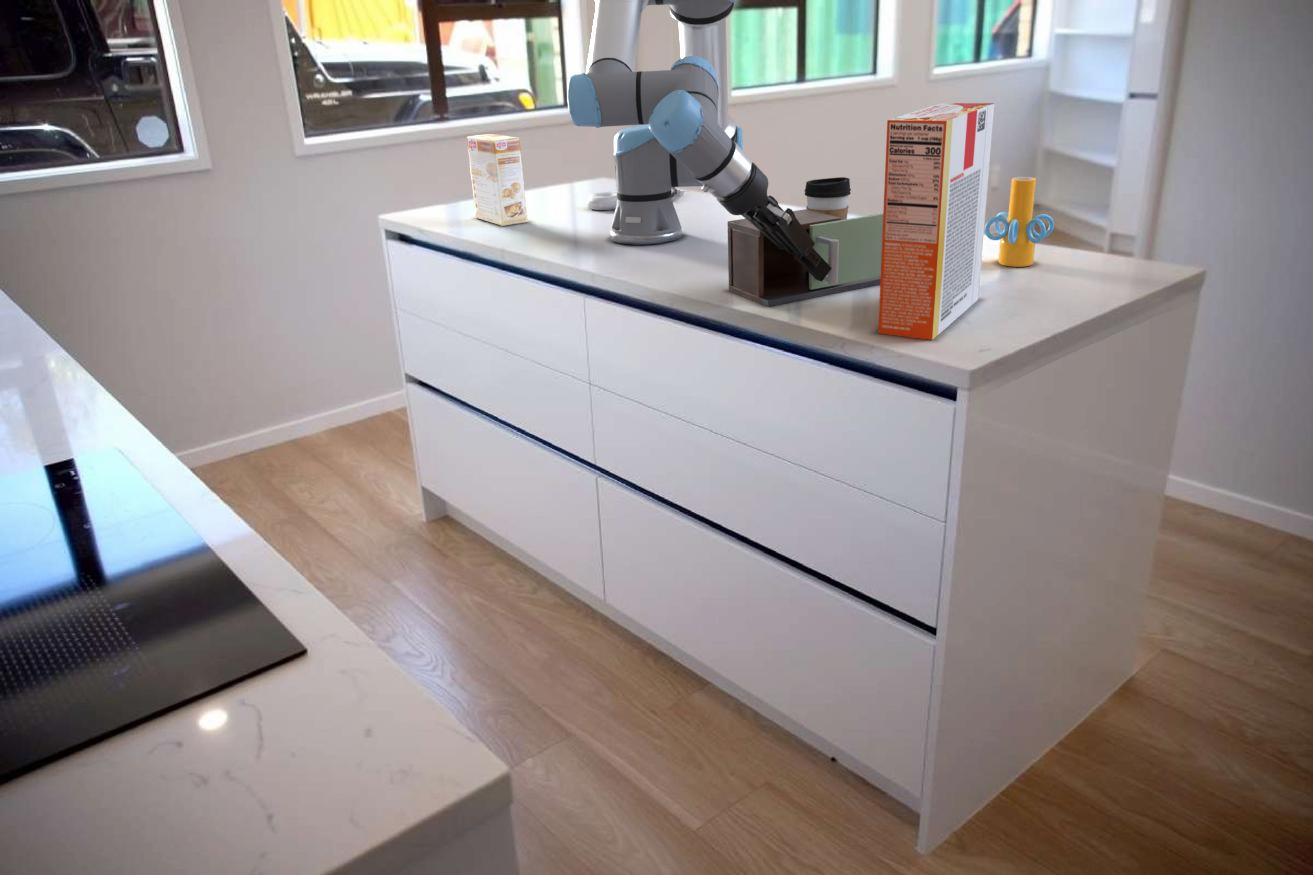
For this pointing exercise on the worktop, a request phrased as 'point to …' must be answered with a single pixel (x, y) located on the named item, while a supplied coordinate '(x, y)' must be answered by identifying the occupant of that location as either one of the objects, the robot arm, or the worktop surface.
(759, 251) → the cabinet
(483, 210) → the coffeecake box
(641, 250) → the worktop surface
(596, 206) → the donut
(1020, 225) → the cylinder
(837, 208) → the coffee cup
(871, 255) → the door
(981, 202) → the cereal box
